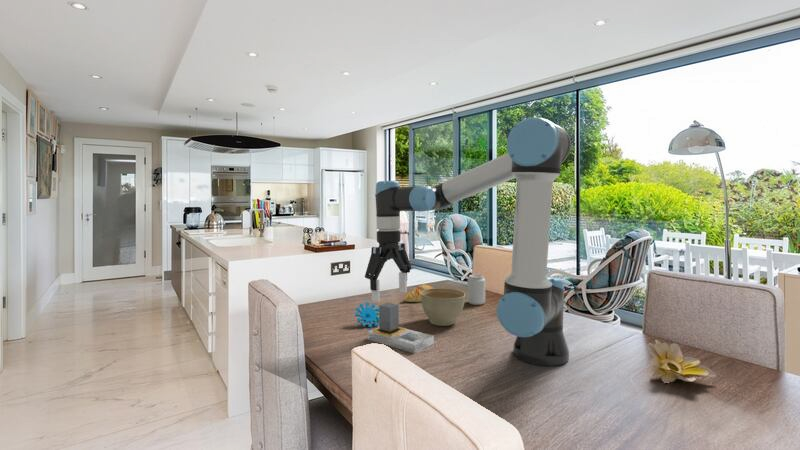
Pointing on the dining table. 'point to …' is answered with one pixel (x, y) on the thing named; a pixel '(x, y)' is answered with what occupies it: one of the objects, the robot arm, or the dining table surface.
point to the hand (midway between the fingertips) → (389, 296)
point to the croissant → (416, 293)
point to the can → (476, 289)
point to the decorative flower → (675, 363)
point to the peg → (389, 318)
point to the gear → (368, 314)
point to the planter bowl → (442, 305)
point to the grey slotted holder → (402, 339)
